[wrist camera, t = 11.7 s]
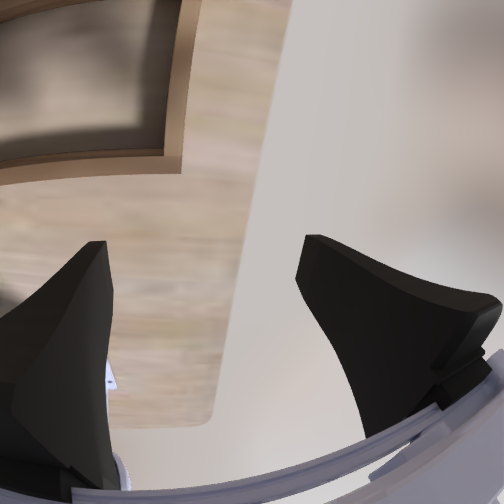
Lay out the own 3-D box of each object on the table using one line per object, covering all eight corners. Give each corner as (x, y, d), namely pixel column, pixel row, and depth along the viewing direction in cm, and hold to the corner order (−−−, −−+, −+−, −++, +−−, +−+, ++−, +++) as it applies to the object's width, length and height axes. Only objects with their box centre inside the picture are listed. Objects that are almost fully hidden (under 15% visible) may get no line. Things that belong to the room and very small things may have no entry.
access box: (178, 163, 18) (180, 173, 16) (-30, 181, 13) (-47, 193, 11) (200, -13, 12) (207, -27, 10) (-23, 20, 7) (-41, 16, 5)
